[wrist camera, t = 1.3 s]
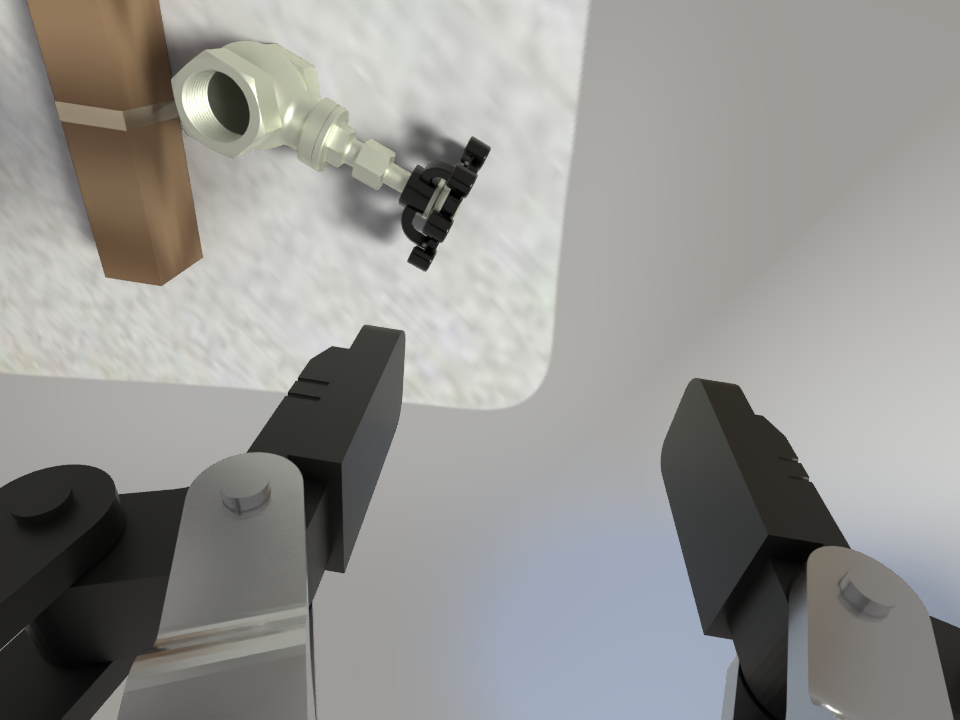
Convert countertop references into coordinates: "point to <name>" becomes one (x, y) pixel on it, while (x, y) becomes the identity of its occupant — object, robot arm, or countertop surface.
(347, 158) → the valve
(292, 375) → the countertop surface
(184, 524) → the robot arm
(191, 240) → the bar
